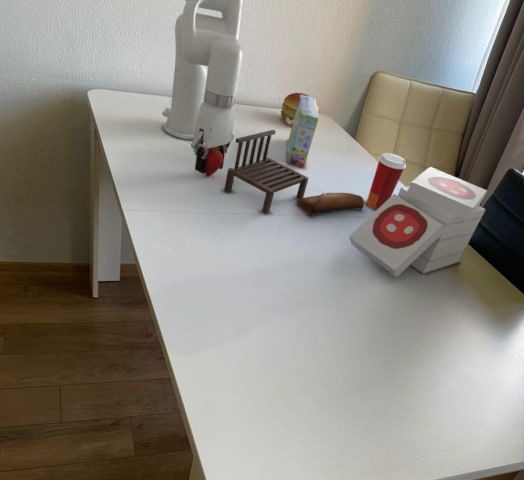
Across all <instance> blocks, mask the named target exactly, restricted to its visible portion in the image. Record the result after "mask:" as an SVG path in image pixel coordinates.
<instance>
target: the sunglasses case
mask: <svg viewBox="0 0 524 480" xmlns="http://www.w3.org/2000/svg"><path fill="white" fill-rule="evenodd" d="M295 202H296V203H297V205H298V207H299V208H300V209H301V210H302V211H304V213H305V214H306V215H308V216H312V215H314V216H316V215H322V214H326V213H331V212H340V211H341V212H342V211H348V210H362V209H363V208H364V206H365V200H364V198H363V197H362V196H361V195H358V194H354V193H350V192H327V193H326V192H324V193H321V194H319V195H311V196H307V197H303V198H302V199H297V200H296V201H295Z"/></svg>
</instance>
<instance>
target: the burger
mask: <svg viewBox="0 0 524 480" xmlns="http://www.w3.org/2000/svg"><path fill="white" fill-rule="evenodd" d="M300 95H305V96H309V97H311V96H310V95H308V94H306V93H303V92H292V93H290V94H287V96H286V97H285V98H284V100H283V102H282V104H281V111H280V116H281V120H282V121H283V122H284V123H286V124H287V125H290V126H292V125H293V121H294V117H295V113H296V109H297V105H298V101H299V97H300ZM316 106H317V113H318V114H319V112H318V111H319V105H318V102H317V101H316Z"/></svg>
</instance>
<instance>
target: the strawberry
mask: <svg viewBox="0 0 524 480" xmlns="http://www.w3.org/2000/svg"><path fill="white" fill-rule="evenodd" d="M204 149H205V148H203V147H202V152H204ZM218 149H221V148H218V147H213V148H210V149H209V151H208V154H207V156H206V159H207V166H206V172H205V174H204V175H205V176H206V177H211V176H212V175H213V174H214V173H216V172H217V171H218V170H220V169H219V168H220V166H221V164H222V162H223V155H222V153H221V152H220V151H219V150H218ZM223 163H224V162H223Z"/></svg>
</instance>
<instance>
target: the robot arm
mask: <svg viewBox="0 0 524 480" xmlns="http://www.w3.org/2000/svg"><path fill="white" fill-rule="evenodd" d="M243 2H244V0H185V3H184V7H183V11H182V13H181V14H180V15H179V16H178V17H177V18H176V20H175V23H174V24H175V25H174V38H175V39H174V40H175V55H174V56H175V58H174V71H173V83H172V94H171V103H170V107H166V108H165V109H164V110H163V111H162V112H161V115H162V116H163V117H165V118H167V119H166V122H164V123H163V130H164V131H165V132H166V133H167V134H169V135H170V136H172V137H176V138H179V139H182V140H188V141H189V140H192V142H191V143H190V147H191V149H192V151H193V152H194V155H195V156H196V159H195V165H194V170H195V171H197V173H198V172H199V173H201V174H202V175H206V174H205V172H206V166H207V159H206V156H207V154H208V151H209V149H210V148H213V147H218V148H221V149H218V150H219V151H220V152H221V153H222V155H223V162H222V164H221V166H220V168H219V169H218V170H222V169H223V168H224V161H225V156H226V154H227V152H228V149H229V147H230V146H231V143H232V142H233V140H234V139H235V135H234V133H233V129H234V122H235V121H234V119H235V103H236V97H237V90H238V84H239V79H240V73H241V68H242V63H243V54H244V53H243V49H242V47H241V44H240V43H239V39H240V29H241V21H242V12H243V4H244V3H243ZM198 9H204V10H210V11H216V12H219V13H220V14H221V15H222V17H218V16H215V15H214V16H213V15H209V14H204V13H198V12H197V11H198ZM202 147H203V148H205V149H204V152H202Z"/></svg>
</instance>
